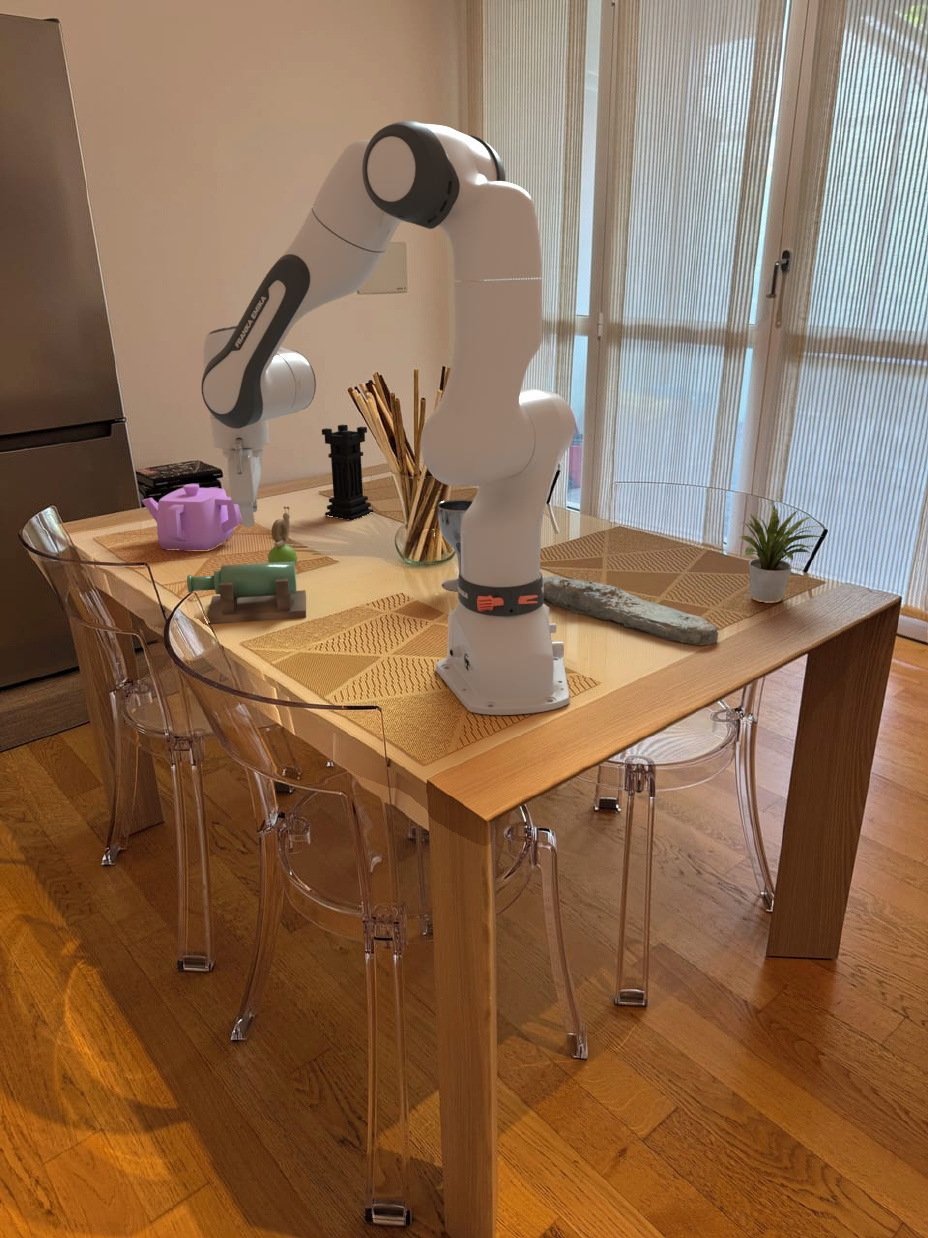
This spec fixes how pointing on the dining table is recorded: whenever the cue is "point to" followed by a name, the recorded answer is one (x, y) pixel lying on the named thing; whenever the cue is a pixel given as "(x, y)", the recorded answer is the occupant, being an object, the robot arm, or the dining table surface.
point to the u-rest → (256, 605)
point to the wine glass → (452, 529)
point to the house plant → (772, 556)
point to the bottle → (247, 579)
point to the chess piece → (346, 473)
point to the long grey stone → (628, 610)
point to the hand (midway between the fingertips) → (250, 518)
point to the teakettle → (194, 517)
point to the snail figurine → (281, 541)
